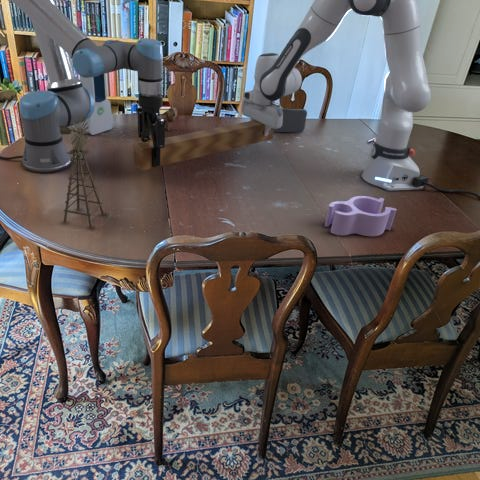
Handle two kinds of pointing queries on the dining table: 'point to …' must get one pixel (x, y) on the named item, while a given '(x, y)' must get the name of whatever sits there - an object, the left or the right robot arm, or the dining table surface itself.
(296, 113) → the handheld gaming console
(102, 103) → the electronic device
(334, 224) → the clip
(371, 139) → the sword
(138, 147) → the bar
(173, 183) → the dining table surface
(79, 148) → the miniature windmill
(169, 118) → the lion figurine
